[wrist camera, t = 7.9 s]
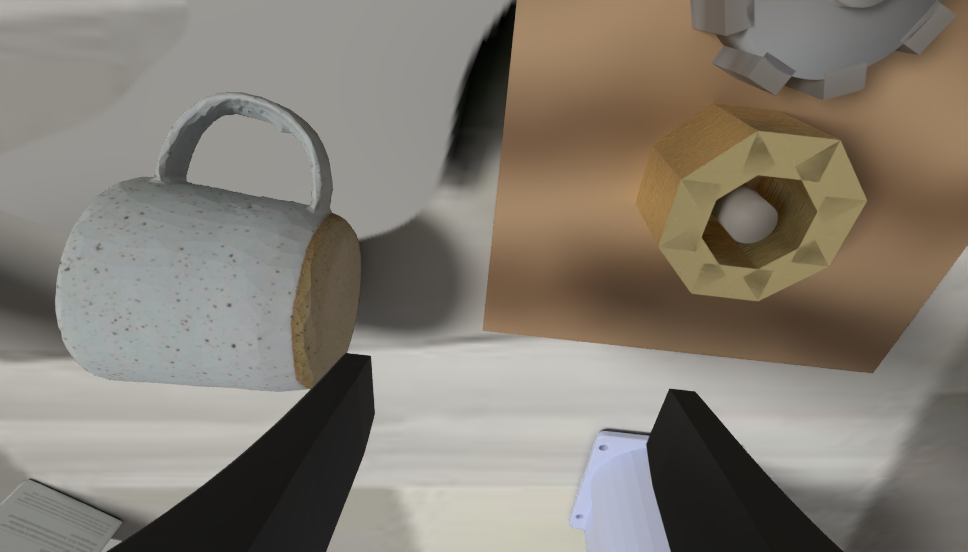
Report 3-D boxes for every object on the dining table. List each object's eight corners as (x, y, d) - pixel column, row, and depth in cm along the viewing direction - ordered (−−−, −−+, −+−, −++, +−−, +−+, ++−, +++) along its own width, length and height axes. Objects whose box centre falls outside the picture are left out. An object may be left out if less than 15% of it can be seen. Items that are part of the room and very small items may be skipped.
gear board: (856, 355, 22) (932, 438, 18) (484, 315, 22) (476, 387, 18) (1202, -143, 12) (1533, -206, 8) (538, -203, 13) (546, -294, 9)
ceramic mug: (372, 322, 23) (313, 450, 17) (210, 300, 23) (87, 420, 16) (368, 102, 18) (279, 163, 11) (156, 73, 18) (-62, 117, 11)
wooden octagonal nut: (759, 255, 18) (805, 306, 15) (624, 239, 18) (644, 288, 15) (826, 115, 15) (899, 146, 12) (665, 97, 15) (700, 124, 12)
